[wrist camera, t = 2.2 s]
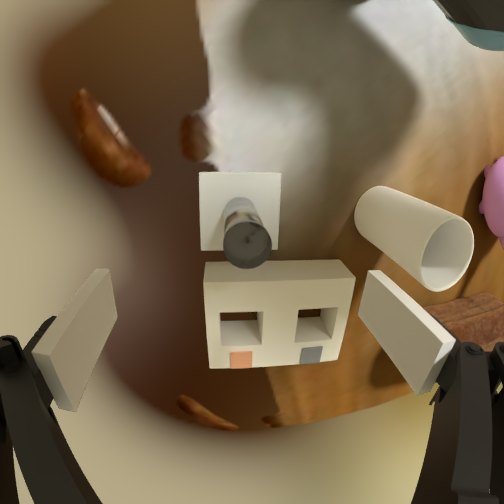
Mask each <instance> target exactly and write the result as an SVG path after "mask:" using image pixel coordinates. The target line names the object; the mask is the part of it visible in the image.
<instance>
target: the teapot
mask: <svg viewBox="0 0 504 504" xmlns="http://www.w3.org/2000/svg"><path fill="white" fill-rule="evenodd" d="M484 176H485V178H486V180H485V183H484V188H483V199H482V201H481V202H480V204H479V213H480V214H484V215H485V219H486V222H487V224H488V227H489V229H490V230H491V231H492V233H493V234H494V235H496V236H498V237H499V239H500V242H501V245H502V247H503V249H504V156H503V157H501V158H500V159H498V160H497V161H496V162H495V163H494V164H493V166H492V167H491V166H489V165H486V166H485V169H484Z"/></svg>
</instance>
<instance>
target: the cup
mask: <svg viewBox="0 0 504 504" xmlns="http://www.w3.org/2000/svg"><path fill="white" fill-rule="evenodd" d="M354 220H355V225H356V228H357V230H358V231H359V233H360V234H361V235H362V236H363V237H364V238H366V239H367V240H368V241H370V242H371V243H372V244H373V245H375V246H376V247H377V248H379V249H380V250H381V251H382V252H384V253H385V254H386V255H387V256H389V257H390V258H391V259H392V260H393V261H395V262H396V263H397V264H398V265H400V266H401V267H402V268H403V269H404V270H406V271H407V272H408V273H409V274H410V275H412V276H413V277H414V278H415V279H416V280H417V281H419V282H420V283H421V284H422V285H423V286H425V287H426V288H427V289H429V290H431V291H435V292H439V291H444V290H446V289H448V288H450V287H451V286H453V285H454V284H455V283H456V282H457V281H458V280H459V279H460V278H461V277H462V276H463V274H464V273H465V271H466V269H467V268H468V266H469V263H470V261H471V258H472V254H473V249H474V236H473V231H472V228H471V226H470V225H469V223H468V222H467V221H466V220H465V219H463V218H461V217H459V216H457V215H455V214H453V213H451V212H448V211H446V210H444V209H441V208H439V207H437V206H434V205H432V204H430V203H427V202H425V201H422V200H420V199H417V198H415V197H412V196H410V195H407V194H405V193H402V192H399V191H397V190H394V189H391V188H388V187H385V186H376V187H373V188H370V189H369V190H367V191H366V192H365V193H364V194H363V195H362V196H361V197H360V199H359V200H358V202H357V205H356V208H355V213H354Z"/></svg>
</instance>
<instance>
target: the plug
mask: <svg viewBox="0 0 504 504" xmlns="http://www.w3.org/2000/svg"><path fill="white" fill-rule="evenodd" d="M271 250H272V241H271V237H270V235H269V233H268V231H267V230H266V228H265V227H264V225H263V223H262V221H261V219H260V217H259V214H258V212H257V210H256V208H255V206H254V204H253V203H252V202H251V201H250V200H249V199H247V198H245V197H236V198H233V199H231V200H230V201H229V202H228V203H227V204H226V206H225V208H224V239H223V251H224V254H225V256H226V258H227V260H228V261H229V262H230V263H231V264H232V265H234V266H236V267H238V268H242V269H252V268H256V267H258V266H260V265H262V264H263V263H264V262H265V261H266V260H267V259H268V257H269V256H270V253H271Z"/></svg>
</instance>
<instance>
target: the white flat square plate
mask: <svg viewBox="0 0 504 504" xmlns="http://www.w3.org/2000/svg"><path fill="white" fill-rule="evenodd" d="M280 194H281V173H275V172H200V173H199V203H200V238H201V251H210V250H211V251H212V250H223V239H224V208H225V206H226V204H227V203H228V202H229V201H230V200H231V199H233V198H236V197H245V198H247V199H249V200H250V201H251V202H252V203H253V204H254V206H255V208H256V210H257V212H258V214H259V217H260V219H261V221H262V223H263V225H264V227H265V228H266V230H267V231H268V233H269V235H270V237H271V241H272V250H278V233H279V214H280Z"/></svg>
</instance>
